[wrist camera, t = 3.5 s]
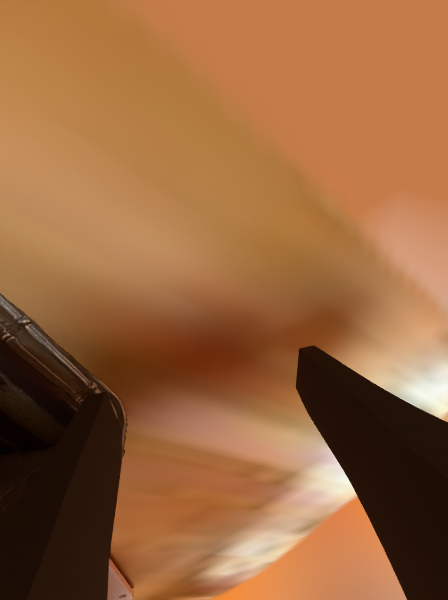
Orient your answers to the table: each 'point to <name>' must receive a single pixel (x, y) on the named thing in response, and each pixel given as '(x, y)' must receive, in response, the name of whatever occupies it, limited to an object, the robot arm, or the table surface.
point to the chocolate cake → (36, 400)
